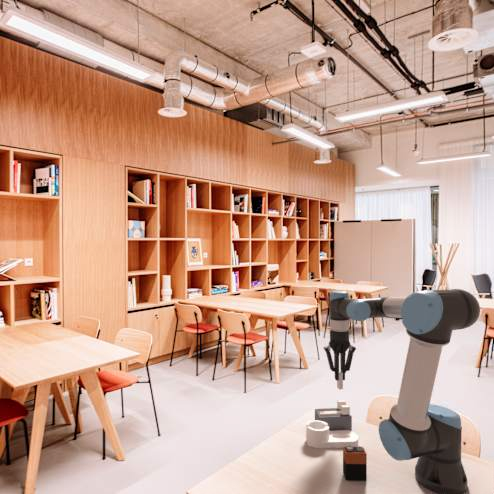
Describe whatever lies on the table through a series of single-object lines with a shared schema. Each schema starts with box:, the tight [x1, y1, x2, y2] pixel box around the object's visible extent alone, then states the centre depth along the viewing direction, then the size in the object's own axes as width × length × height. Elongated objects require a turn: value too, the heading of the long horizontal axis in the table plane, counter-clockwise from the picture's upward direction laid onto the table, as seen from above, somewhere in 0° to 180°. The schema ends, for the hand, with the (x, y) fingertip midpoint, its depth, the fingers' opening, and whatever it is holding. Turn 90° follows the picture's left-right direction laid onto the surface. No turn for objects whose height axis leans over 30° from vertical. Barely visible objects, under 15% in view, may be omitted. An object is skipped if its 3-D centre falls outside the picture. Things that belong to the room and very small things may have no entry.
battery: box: [342, 445, 368, 482], centre depth 127 cm, size 4×7×10 cm, turn 88°
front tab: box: [341, 404, 351, 415], centre depth 156 cm, size 2×3×3 cm, turn 95°
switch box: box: [314, 407, 353, 432], centre depth 159 cm, size 8×13×7 cm, turn 94°
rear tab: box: [336, 399, 347, 409], centre depth 161 cm, size 2×3×3 cm, turn 95°
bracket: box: [305, 419, 359, 449], centre depth 149 cm, size 20×9×7 cm, turn 93°
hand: (339, 388), depth 156 cm, fingers closed
